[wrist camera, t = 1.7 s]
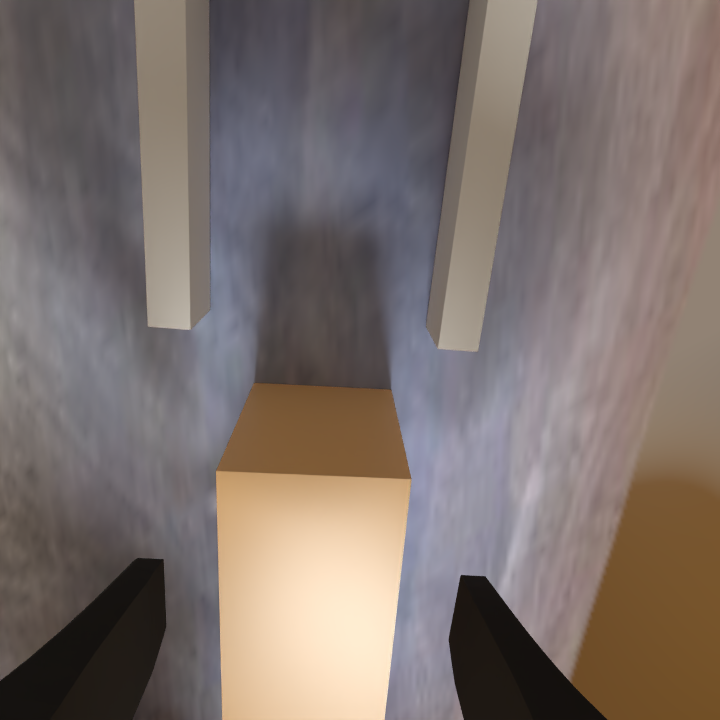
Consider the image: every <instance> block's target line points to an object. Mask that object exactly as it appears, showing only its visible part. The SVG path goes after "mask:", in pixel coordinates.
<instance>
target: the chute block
mask: <svg viewBox="0 0 720 720" xmlns="http://www.w3.org/2000/svg"><path fill="white" fill-rule="evenodd" d="M216 486H217V526H218V566H219V606H220V646H221V685H222V720H384V719H385V710H386V701H387V692H388V683H389V674H390V666H391V657H392V648H393V639H394V630H395V621H396V612H397V603H398V594H399V585H400V576H401V567H402V559H403V550H404V541H405V532H406V523H407V514H408V505H409V496H410V487H411V475H410V471H409V466H408V462H407V457H406V453H405V449H404V444H403V440H402V435H401V431H400V426H399V422H398V417H397V413H396V408H395V404H394V399H393V395H392V390H389V389H369V388H348V387H328V386H308V385H288V384H268V383H254V384H253V387H252V389H251V391H250V393H249V396H248V398H247V400H246V403H245V405H244V407H243V410H242V412H241V414H240V417H239V419H238V421H237V424H236V426H235V428H234V431H233V433H232V435H231V438H230V440H229V442H228V445H227V447H226V449H225V452H224V454H223V456H222V459H221V461H220V463H219V466H218V468H217V470H216Z"/></svg>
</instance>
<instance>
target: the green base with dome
mask: <svg viewBox="0 0 720 720" xmlns="http://www.w3.org/2000/svg"><path fill="white" fill-rule="evenodd" d="M537 1H538V0H470V2H469V9H468V17H467V24H466V32H465V39H464V47H463V54H462V61H461V69H460V76H459V84H458V91H457V99H456V106H455V114H454V121H453V128H452V136H451V143H450V151H449V158H448V166H447V173H446V181H445V188H444V195H443V203H442V210H441V218H440V225H439V233H438V240H437V247H436V255H435V262H434V270H433V277H432V285H431V292H430V300H429V307H428V314H427V322H426V328H427V330H428V332H429V334H430V335H431V337H432V339H433V341H434V343H435V344H436V346H437V348H438V349H447V350H460V351H473V352H478V348H479V342H480V336H481V330H482V324H483V319H484V313H485V307H486V301H487V295H488V289H489V283H490V277H491V272H492V266H493V260H494V254H495V248H496V242H497V236H498V230H499V224H500V219H501V213H502V207H503V201H504V195H505V189H506V183H507V177H508V172H509V166H510V160H511V154H512V148H513V142H514V136H515V130H516V125H517V119H518V113H519V107H520V101H521V95H522V89H523V83H524V78H525V72H526V66H527V60H528V54H529V48H530V42H531V36H532V31H533V25H534V19H535V13H536V7H537ZM134 10H135V34H136V58H137V81H138V105H139V128H140V152H141V176H142V199H143V223H144V247H145V270H146V294H147V318H148V327H157V328H171V329H184V330H191V329H192V328H193V327H194V326H195V325H196V324H197V323H198V322H199V321H200V320H201V319H202V318H203V317H204V316H205V315H206V314H207V313H208V312H209V311H210V93H209V0H134Z"/></svg>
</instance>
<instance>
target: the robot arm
mask: <svg viewBox="0 0 720 720" xmlns="http://www.w3.org/2000/svg"><path fill="white" fill-rule="evenodd" d="M165 629H166V608H165V583H164V559H145V558H137V559H136V560H135V561H133V562H132V563H131V564H130V565H129V566H128V567H127V568H126V569H125V570H124V571H123V572H122V573H121V574H120V575H119V576H118V577H117V578H116V579H115V580H114V581H113V582H112V583H111V584H110V585H109V586H108V587H107V588H106V589H105V590H104V591H103V592H102V593H101V594H100V595H99V596H98V597H97V598H96V599H95V600H94V601H93V602H92V603H91V604H90V605H88V606H87V607H86V608H85V609H84V610H83V611H82V612H81V613H80V614H79V615H78V616H77V617H76V618H75V619H73V620H72V621H71V622H70V623H69V624H68V625H67V626H66V627H65V628H64V629H62V630H61V631H60V632H59V633H58V634H57V635H56V636H54V637H53V638H52V639H51V640H50V641H49V642H47V643H46V644H45V645H44V646H43V647H42V648H40V649H39V650H38V651H37V652H36V653H35V654H33V655H32V656H31V657H30V658H29V659H27V660H26V661H25V662H24V663H22V664H21V665H20V666H19V667H17V668H16V669H15V670H14V671H12V672H11V673H10V674H9V675H7V676H6V677H5V678H3V679H2V680H1V681H0V720H132V719H133V717H134V714H135V712H136V710H137V707H138V705H139V702H140V700H141V698H142V695H143V693H144V691H145V688H146V686H147V684H148V681H149V679H150V676H151V674H152V671H153V668H154V665H155V662H156V659H157V656H158V652H159V649H160V646H161V642H162V639H163V636H164V632H165ZM449 645H450V653H451V661H452V667H453V674H454V681H455V686H456V690H457V694H458V698H459V702H460V706H461V710H462V714H463V718H464V720H607V719H606V718H605V717H604V716H603V715H602V714H601V713H600V712H599V711H598V710H597V709H596V708H595V707H594V706H593V705H592V704H591V703H590V702H589V701H588V700H587V699H586V698H585V697H584V696H583V695H582V694H581V693H580V692H579V691H578V690H577V689H576V688H575V687H574V686H573V685H572V684H571V683H570V681H569V680H568V679H567V678H566V677H565V676H564V675H563V674H562V673H561V671H560V670H559V669H558V668H557V667H556V666H555V665H554V663H553V662H552V661H551V660H550V659H549V658H548V656H547V655H546V654H545V653H544V652H543V650H542V649H541V648H540V647H539V646H538V644H537V643H536V642H535V641H534V639H533V638H532V637H531V636H530V635H529V633H528V632H527V631H526V630H525V628H524V627H523V626H522V624H521V623H520V622H519V621H518V619H517V618H516V617H515V615H514V614H513V613H512V611H511V610H510V609H509V607H508V606H507V605H506V603H505V602H504V601H503V599H502V598H501V597H500V595H499V594H498V593H497V591H496V590H495V589H494V587H493V586H492V584H491V583H490V582H489V581H488V579H487V578H486V577H485V576H468V575H461V576H460V582H459V587H458V592H457V598H456V603H455V608H454V613H453V619H452V624H451V629H450V635H449Z"/></svg>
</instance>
